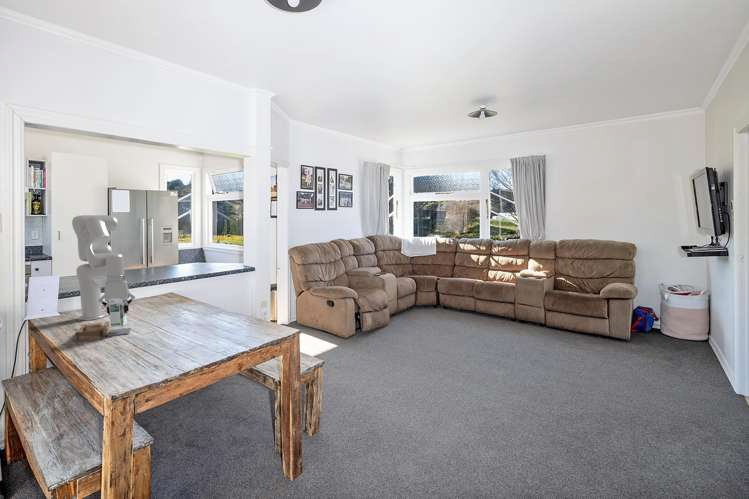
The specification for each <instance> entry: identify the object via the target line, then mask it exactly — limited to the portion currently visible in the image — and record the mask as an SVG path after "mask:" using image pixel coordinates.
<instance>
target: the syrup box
mask: <svg viewBox="0 0 749 499" xmlns="http://www.w3.org/2000/svg"><path fill="white" fill-rule="evenodd" d="M109 310H110V315H109V321H110V322H109V327H110V328H113V327H124V326H125V325H126V324H127V323H128V321H127V313H125V303H124V301H123V300H122V298H114V299H109Z"/></svg>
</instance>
